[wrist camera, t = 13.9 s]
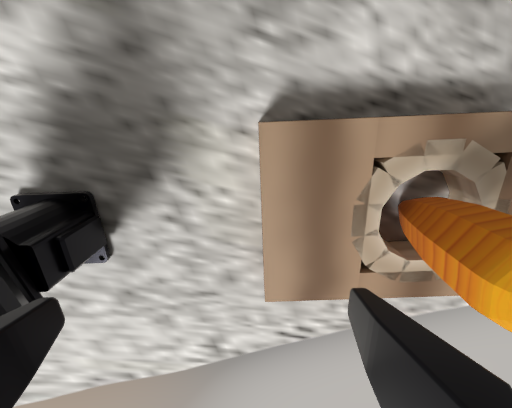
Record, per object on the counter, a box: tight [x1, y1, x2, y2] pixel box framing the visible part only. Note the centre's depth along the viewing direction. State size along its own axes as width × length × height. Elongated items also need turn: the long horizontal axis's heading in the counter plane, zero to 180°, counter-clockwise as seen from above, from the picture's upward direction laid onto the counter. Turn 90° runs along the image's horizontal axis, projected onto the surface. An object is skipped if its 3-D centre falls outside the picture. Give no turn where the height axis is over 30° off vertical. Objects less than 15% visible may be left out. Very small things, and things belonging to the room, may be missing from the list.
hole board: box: [258, 111, 512, 302], centre depth 19 cm, size 18×14×3 cm
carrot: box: [398, 197, 512, 332], centre depth 13 cm, size 5×5×15 cm
